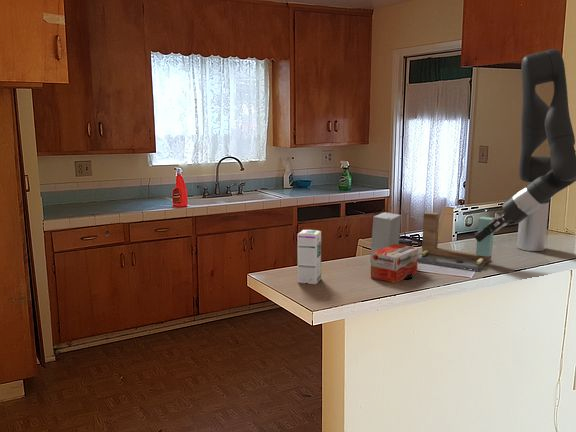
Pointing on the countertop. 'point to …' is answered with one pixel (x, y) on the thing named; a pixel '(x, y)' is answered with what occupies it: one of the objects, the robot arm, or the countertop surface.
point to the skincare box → (385, 231)
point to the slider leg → (486, 244)
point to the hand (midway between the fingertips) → (478, 238)
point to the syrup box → (309, 256)
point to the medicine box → (394, 263)
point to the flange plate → (450, 261)
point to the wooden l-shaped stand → (432, 240)
